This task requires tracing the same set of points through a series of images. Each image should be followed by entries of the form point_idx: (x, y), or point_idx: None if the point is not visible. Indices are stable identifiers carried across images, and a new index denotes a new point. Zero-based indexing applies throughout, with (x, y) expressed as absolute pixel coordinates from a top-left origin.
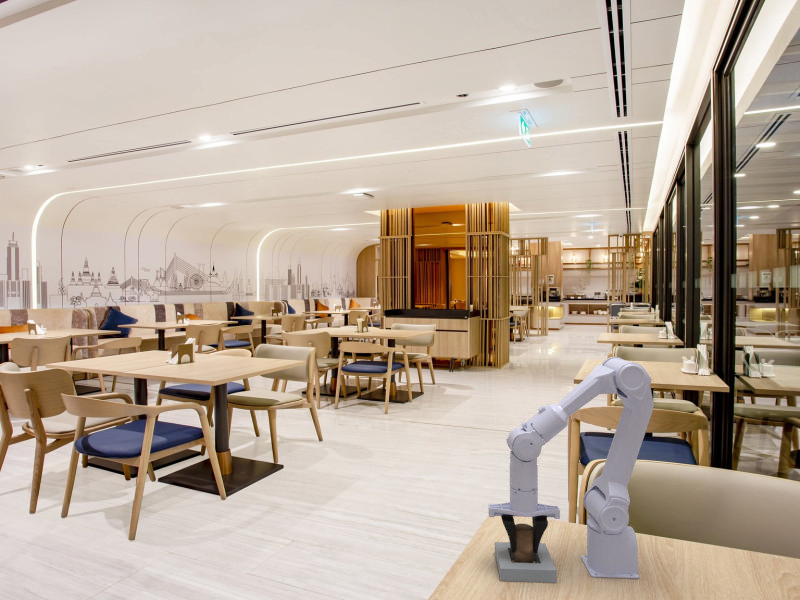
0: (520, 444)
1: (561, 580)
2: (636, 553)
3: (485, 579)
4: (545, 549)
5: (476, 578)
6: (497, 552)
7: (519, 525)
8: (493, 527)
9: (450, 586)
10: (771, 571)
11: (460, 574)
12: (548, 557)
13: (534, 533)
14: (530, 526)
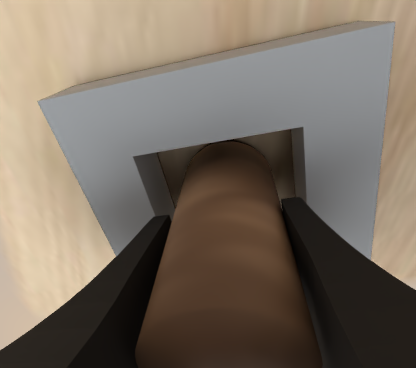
0: None
1: None
2: None
3: (106, 265)
4: (369, 119)
5: (78, 265)
6: (96, 213)
7: (183, 343)
8: None
9: (29, 304)
10: None
11: (22, 255)
12: (361, 207)
13: (318, 330)
14: (297, 347)
